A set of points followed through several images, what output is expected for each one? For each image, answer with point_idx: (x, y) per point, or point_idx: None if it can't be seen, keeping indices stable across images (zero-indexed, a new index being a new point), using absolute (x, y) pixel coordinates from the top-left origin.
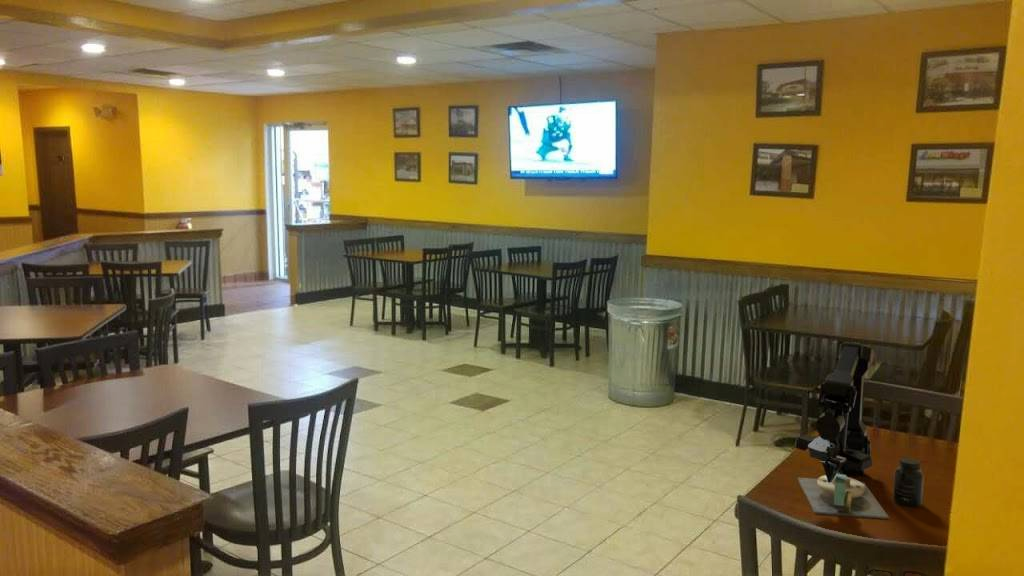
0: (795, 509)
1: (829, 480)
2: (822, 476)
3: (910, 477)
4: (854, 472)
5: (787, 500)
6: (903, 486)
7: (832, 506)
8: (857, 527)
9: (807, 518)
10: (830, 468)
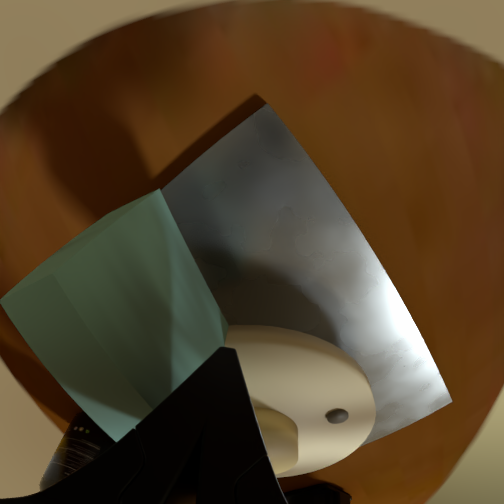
0: (379, 79)
1: (212, 359)
2: (361, 440)
3: (45, 486)
4: (297, 497)
5: (456, 171)
6: (70, 462)
7: (224, 254)
8: (48, 140)
9: (266, 13)
10: (136, 487)
